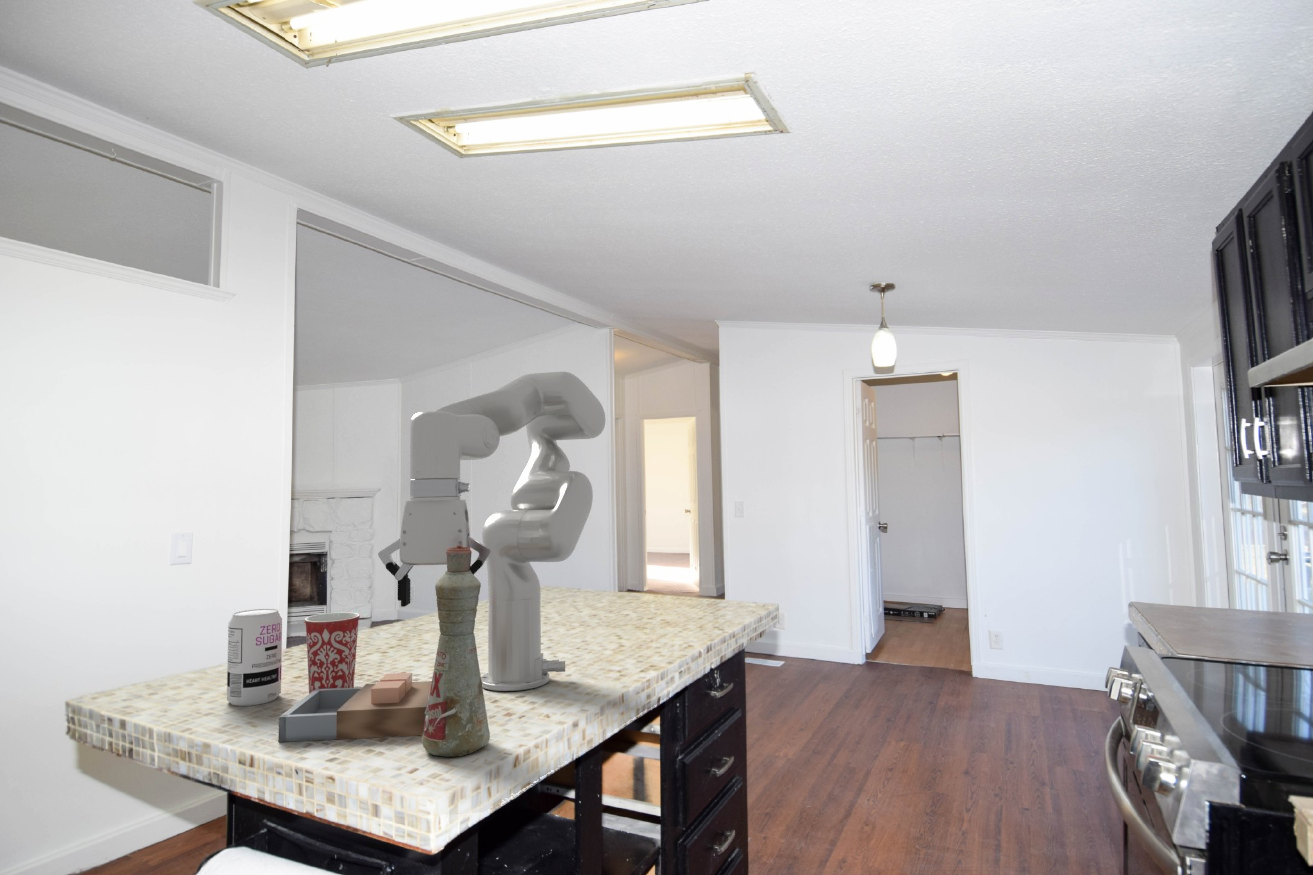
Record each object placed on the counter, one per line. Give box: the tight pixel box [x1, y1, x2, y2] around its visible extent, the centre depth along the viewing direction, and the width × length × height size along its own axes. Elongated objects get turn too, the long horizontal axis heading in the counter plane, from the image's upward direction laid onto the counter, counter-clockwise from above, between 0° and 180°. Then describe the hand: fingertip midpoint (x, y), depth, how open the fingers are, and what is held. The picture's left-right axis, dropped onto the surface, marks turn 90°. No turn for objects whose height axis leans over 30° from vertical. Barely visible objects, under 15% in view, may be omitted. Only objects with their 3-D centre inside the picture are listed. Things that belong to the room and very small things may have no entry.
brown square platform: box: [335, 680, 432, 740], centre depth 116 cm, size 13×15×4 cm
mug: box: [304, 611, 361, 695], centre depth 135 cm, size 13×9×14 cm
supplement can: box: [226, 608, 283, 707], centre depth 130 cm, size 8×8×15 cm
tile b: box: [379, 672, 413, 693], centre depth 119 cm, size 4×4×2 cm
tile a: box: [371, 681, 405, 704], centre depth 114 cm, size 4×4×2 cm
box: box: [277, 686, 363, 743], centre depth 115 cm, size 8×15×4 cm, turn 6°
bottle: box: [421, 544, 491, 758], centre depth 104 cm, size 9×9×28 cm
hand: (435, 603), depth 115 cm, fingers open, 8 cm apart
